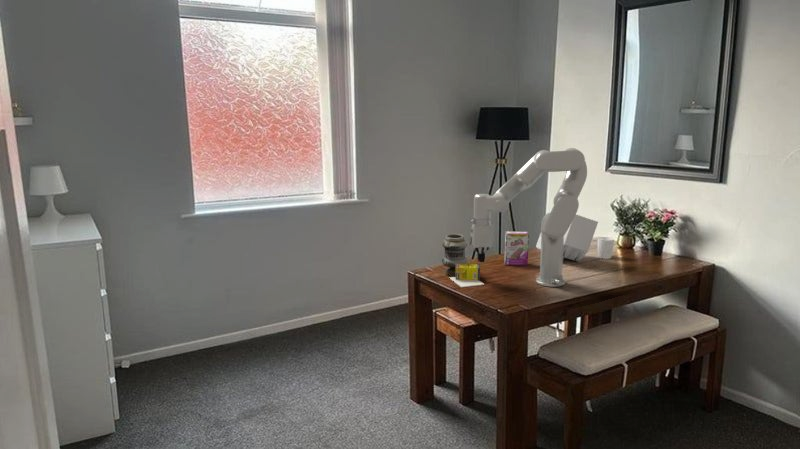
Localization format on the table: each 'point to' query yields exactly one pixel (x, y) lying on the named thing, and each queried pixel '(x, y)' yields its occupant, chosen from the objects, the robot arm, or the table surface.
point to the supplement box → (467, 272)
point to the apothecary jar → (454, 252)
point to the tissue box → (577, 238)
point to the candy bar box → (516, 248)
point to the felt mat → (466, 282)
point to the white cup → (605, 247)
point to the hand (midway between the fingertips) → (481, 261)
